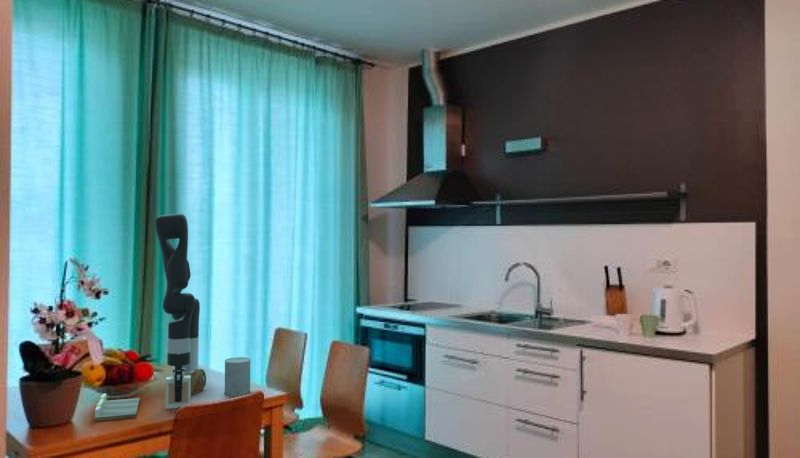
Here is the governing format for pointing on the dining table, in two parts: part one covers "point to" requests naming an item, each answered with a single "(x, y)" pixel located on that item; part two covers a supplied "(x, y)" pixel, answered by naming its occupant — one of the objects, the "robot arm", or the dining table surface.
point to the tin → (197, 380)
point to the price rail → (100, 405)
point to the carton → (171, 392)
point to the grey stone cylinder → (237, 376)
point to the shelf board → (119, 409)
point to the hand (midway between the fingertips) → (178, 399)
